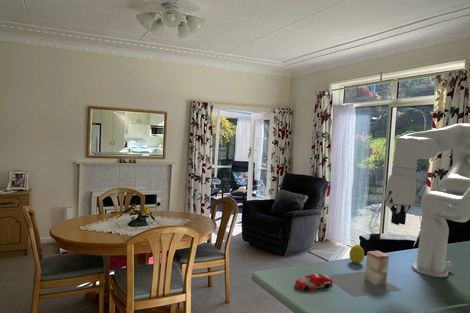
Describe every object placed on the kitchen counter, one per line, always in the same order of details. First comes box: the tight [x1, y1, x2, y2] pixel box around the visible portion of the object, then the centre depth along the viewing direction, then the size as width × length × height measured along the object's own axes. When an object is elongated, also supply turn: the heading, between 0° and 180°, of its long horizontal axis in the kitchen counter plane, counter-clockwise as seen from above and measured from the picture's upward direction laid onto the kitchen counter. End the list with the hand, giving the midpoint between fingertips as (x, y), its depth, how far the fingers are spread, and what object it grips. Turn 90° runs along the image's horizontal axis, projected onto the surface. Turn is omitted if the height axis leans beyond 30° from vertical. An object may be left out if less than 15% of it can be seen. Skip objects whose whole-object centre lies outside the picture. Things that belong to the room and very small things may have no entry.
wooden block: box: [364, 250, 390, 285], centre depth 126 cm, size 5×5×10 cm
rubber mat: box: [326, 271, 402, 298], centre depth 125 cm, size 20×16×1 cm
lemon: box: [348, 244, 365, 265], centre depth 143 cm, size 6×6×8 cm
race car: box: [294, 273, 334, 292], centre depth 120 cm, size 13×5×4 cm, turn 110°
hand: (397, 223), depth 128 cm, fingers closed
